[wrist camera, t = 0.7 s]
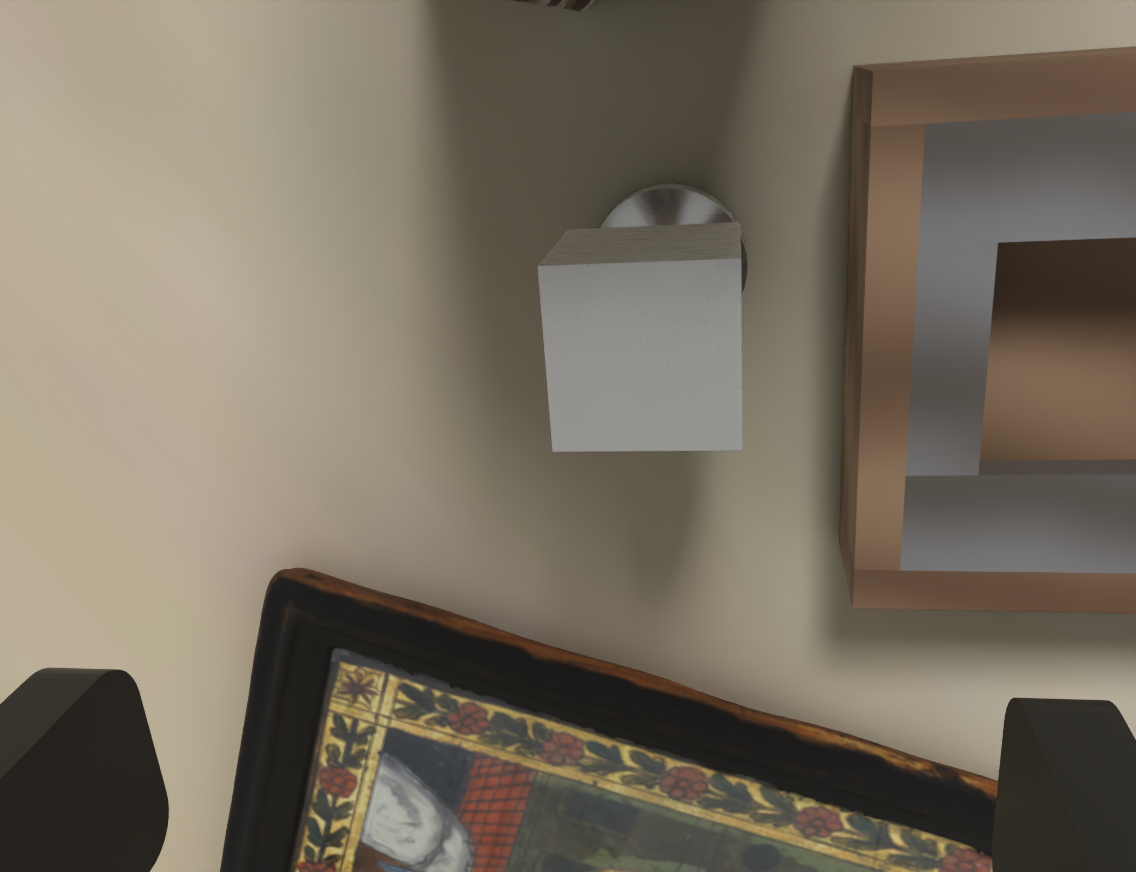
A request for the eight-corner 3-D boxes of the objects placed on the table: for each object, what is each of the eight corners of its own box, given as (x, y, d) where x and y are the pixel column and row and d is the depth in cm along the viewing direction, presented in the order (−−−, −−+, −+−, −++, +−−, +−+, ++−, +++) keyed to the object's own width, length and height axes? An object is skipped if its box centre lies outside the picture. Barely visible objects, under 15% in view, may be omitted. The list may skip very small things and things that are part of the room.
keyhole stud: (589, 187, 29) (526, 256, 20) (746, 179, 28) (752, 247, 19) (597, 336, 31) (544, 460, 22) (746, 332, 30) (752, 459, 21)
